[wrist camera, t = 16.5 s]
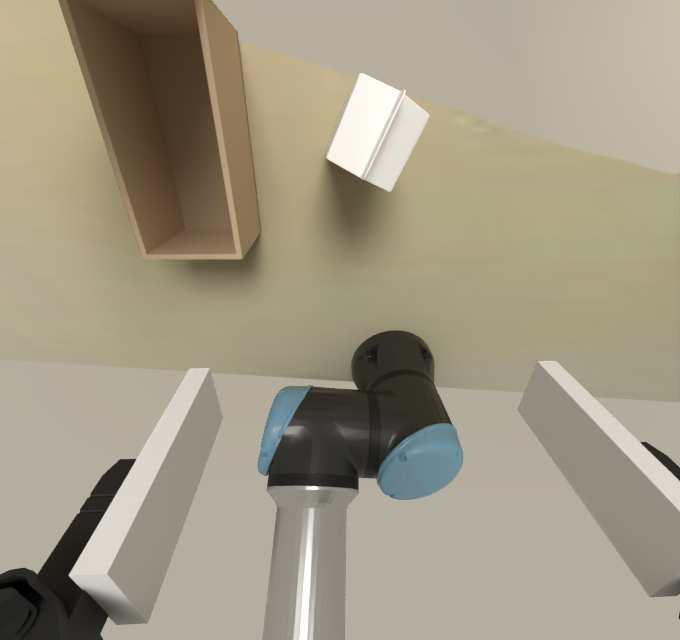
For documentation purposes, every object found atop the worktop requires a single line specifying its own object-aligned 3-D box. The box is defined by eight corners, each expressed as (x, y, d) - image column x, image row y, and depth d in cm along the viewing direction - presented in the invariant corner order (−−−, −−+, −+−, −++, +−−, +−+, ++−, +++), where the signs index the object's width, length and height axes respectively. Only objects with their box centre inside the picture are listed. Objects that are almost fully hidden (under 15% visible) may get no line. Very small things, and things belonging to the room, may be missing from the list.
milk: (325, 150, 41) (322, 161, 22) (345, 98, 38) (362, 60, 19) (366, 172, 42) (397, 200, 23) (388, 124, 39) (445, 112, 20)
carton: (261, 231, 46) (242, 259, 35) (184, 231, 45) (142, 259, 35) (237, 31, 34) (199, -15, 24) (135, 29, 34) (52, -19, 24)
